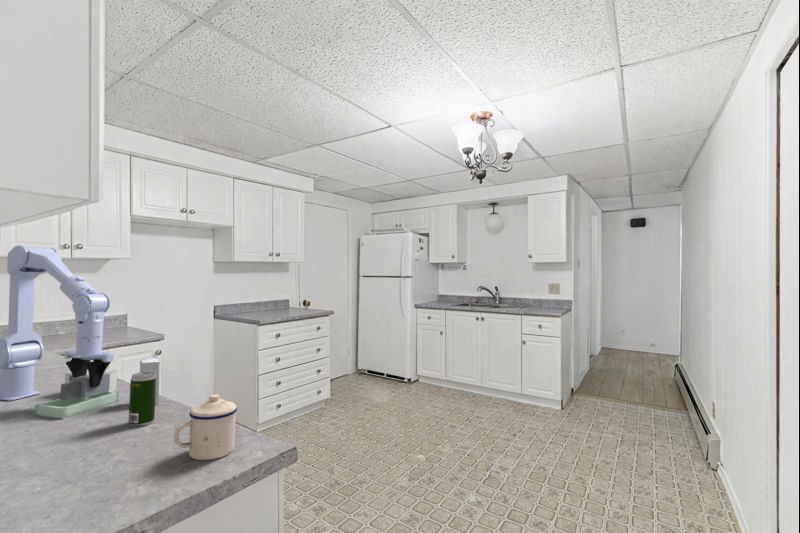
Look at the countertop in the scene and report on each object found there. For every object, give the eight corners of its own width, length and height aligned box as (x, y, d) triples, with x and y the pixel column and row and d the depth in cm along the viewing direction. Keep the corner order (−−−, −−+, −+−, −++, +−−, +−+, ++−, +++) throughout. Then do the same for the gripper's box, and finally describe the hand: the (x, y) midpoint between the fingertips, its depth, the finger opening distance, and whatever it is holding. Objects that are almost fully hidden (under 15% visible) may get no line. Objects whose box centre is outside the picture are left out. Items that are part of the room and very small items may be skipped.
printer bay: (64, 394, 117) (65, 372, 117) (91, 387, 125) (92, 367, 125) (90, 397, 115) (91, 375, 115) (116, 390, 123) (117, 369, 123)
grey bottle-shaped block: (55, 400, 103) (56, 381, 103) (96, 390, 114) (97, 372, 114) (69, 402, 102) (70, 382, 102) (109, 391, 113) (110, 373, 113)
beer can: (146, 427, 94) (148, 377, 95) (123, 427, 94) (125, 376, 94) (158, 419, 100) (161, 371, 100) (137, 419, 99) (139, 371, 100)
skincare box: (159, 404, 111) (161, 361, 111) (140, 407, 108) (142, 363, 108) (156, 399, 116) (158, 357, 116) (137, 401, 113) (140, 359, 113)
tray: (34, 415, 100) (35, 405, 100) (92, 398, 115) (92, 389, 115) (63, 418, 98) (63, 408, 98) (118, 400, 113) (118, 392, 113)
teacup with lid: (224, 439, 89) (227, 387, 89) (242, 452, 83) (245, 396, 83) (165, 455, 80) (168, 397, 81) (180, 471, 74) (183, 408, 74)
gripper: (53, 337, 107) (51, 387, 106) (97, 340, 104) (94, 392, 103) (80, 333, 114) (77, 381, 113) (121, 336, 111) (118, 385, 110)
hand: (87, 386), depth 109 cm, fingers closed on grey bottle-shaped block, 4 cm apart
